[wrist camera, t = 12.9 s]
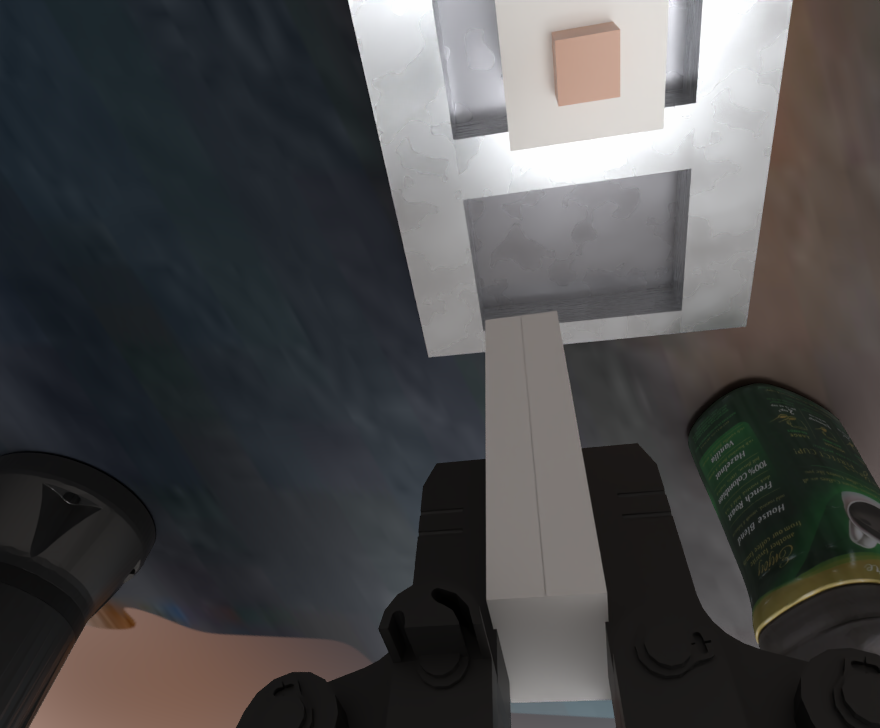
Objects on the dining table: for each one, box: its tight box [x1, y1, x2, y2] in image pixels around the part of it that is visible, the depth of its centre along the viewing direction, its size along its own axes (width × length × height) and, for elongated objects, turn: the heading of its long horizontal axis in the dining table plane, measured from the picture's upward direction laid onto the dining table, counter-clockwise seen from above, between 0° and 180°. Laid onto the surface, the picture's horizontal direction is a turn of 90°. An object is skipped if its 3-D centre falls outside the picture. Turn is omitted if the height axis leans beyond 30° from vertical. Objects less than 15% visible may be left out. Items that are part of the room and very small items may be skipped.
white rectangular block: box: [495, 0, 669, 152], centre depth 24 cm, size 6×6×10 cm
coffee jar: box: [688, 383, 880, 662], centre depth 36 cm, size 10×8×19 cm
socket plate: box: [348, 0, 793, 357], centre depth 31 cm, size 18×22×3 cm
